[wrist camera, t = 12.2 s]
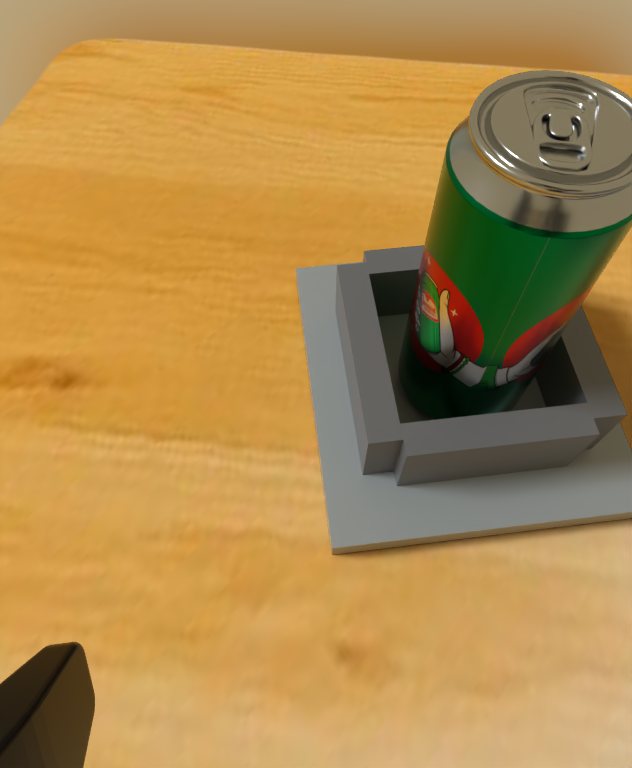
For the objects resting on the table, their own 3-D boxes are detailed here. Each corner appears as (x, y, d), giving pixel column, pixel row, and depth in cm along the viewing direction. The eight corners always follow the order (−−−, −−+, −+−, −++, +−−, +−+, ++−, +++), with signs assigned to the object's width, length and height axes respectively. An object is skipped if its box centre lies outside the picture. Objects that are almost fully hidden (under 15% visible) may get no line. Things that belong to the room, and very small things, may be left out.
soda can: (519, 336, 25) (661, 69, 15) (519, 443, 23) (691, 214, 12) (402, 321, 25) (459, 51, 15) (390, 423, 23) (448, 187, 13)
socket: (642, 516, 22) (702, 481, 19) (332, 554, 22) (333, 525, 18) (539, 258, 28) (569, 195, 25) (296, 282, 28) (293, 221, 24)
